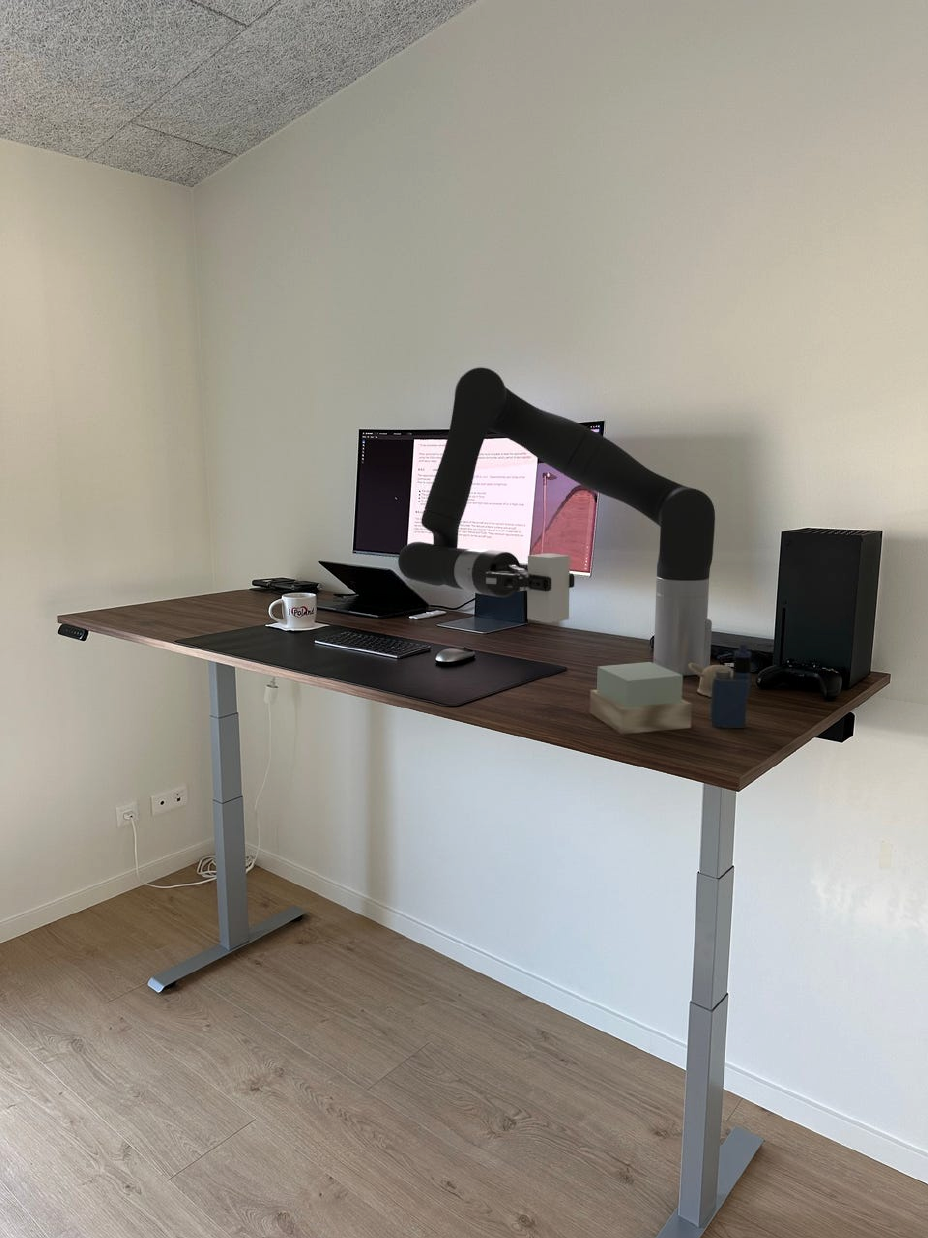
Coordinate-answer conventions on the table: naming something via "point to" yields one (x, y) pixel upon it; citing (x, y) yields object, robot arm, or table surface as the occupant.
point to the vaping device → (731, 692)
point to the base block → (640, 715)
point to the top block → (639, 684)
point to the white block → (556, 600)
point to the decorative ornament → (707, 677)
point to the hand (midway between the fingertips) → (561, 582)
